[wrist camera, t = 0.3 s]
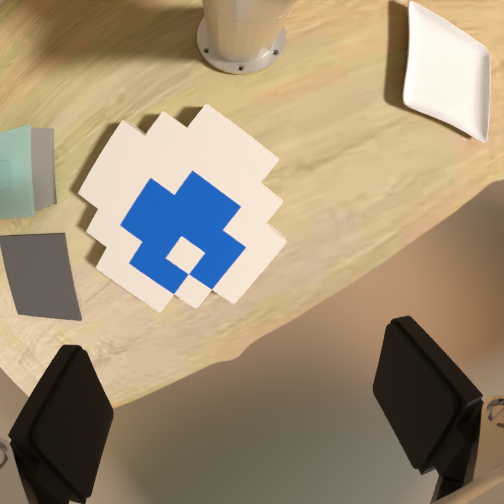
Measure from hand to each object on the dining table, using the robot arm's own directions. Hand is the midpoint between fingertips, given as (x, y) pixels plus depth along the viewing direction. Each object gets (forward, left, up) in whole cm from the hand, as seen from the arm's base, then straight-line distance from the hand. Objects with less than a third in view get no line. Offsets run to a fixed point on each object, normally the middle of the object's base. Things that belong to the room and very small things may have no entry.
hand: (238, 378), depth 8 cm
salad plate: (-25, +37, -37) cm, 58 cm away
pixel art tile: (+2, -7, -37) cm, 37 cm away
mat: (+13, -35, -36) cm, 52 cm away
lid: (-6, -35, -29) cm, 46 cm away
